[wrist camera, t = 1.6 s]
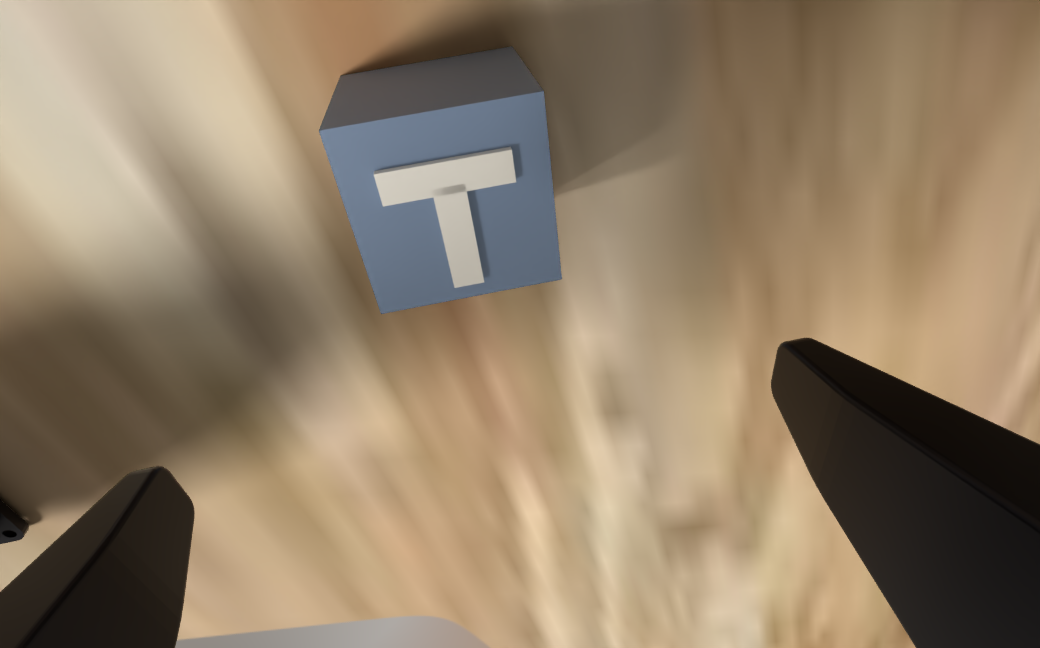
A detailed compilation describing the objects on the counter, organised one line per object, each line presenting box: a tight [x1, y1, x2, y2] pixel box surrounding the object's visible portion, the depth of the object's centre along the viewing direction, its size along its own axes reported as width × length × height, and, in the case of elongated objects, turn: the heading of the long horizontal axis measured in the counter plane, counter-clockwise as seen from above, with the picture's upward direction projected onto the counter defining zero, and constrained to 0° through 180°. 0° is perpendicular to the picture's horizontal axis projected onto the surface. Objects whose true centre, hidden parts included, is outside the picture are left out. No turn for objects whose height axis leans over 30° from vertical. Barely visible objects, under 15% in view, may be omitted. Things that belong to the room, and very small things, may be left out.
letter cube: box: [319, 46, 562, 314], centre depth 16 cm, size 5×5×5 cm
